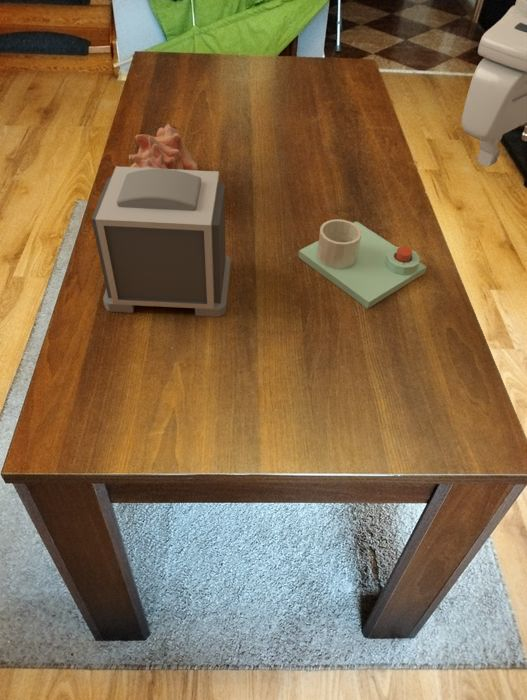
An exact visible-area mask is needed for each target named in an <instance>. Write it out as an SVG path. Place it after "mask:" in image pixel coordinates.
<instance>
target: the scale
mask: <svg viewBox="0 0 527 700" xmlns="http://www.w3.org/2000/svg"><path fill="white" fill-rule="evenodd" d="M353 223H354V224H355V225H357V226H358V227H359V228H360V230H361V240H360V245H359V250H358V255H357V259H356V262H355V263H354V264H353V265H352V266H350V267H348V268H344V269H334V268H330V267H327V266H325V265H323V264H322V263H321V262H320V261H319V260H318V258H317V247H318V240H317V241H315V242H313V243H311V244H309V245H307V246H305V247H303V248H300V249H299V250H298V255H297V256H298V257H297V258H299V259H300V260H301V261H302V262H304V263H305V264H307V265H308V266H309V267H311V268H312V270H313V269H314V270H315V271H316V272H317V273H319V274H320V275H321V276H323V277H324V278H326V279H327V280H328V281H329V282H331V283H332V284H333V285H335V286H336V287H337V288H338V289H340V290H342V291H343V292H344V293H346V294H347V295H348V296H350V297H351V298H352V299H354V300H355V301H356V302H358V303H359V304H361V306H363V307H365V308H366V309H370V308H372V306H374V305H376V304H377V303H379V302H381V301H382V300H384V299H386V298H387V297H389V296H390V295H392V294H394V293H395V292H397V291H398V290H400V289H402V288H404V287H405V286H408V284H410V283H411V282H413V281H414V280H416V279H418V278H419V277H422V276H423V275H425V274H426V271H427V268H428V266H426V265H425V264H423V263H422V262H420V260H421V257H420V256H419V254H418V252H416V251H415V250H413V249H411V250H412V255H411V259H410V261H409V262H408V263H403V262H399V261H397V260H396V258H395V257H396V253H397V249H398V248H399V247H400V246H396V245H394V244H392V243H391V242H390V241H388V240H386V239H385V238H383V237H382V236H380V235H379V234H378V233H376V232H374V231H372V230H371V229H369V228H367V227H366V226H365V225H363V224H362V223H360V222H358V221H354V222H353Z"/></svg>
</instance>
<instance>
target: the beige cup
mask: <svg viewBox="0 0 527 700" xmlns="http://www.w3.org/2000/svg"><path fill="white" fill-rule="evenodd" d="M360 240H361V230H360V228H359V227H358V226H357V225H355V224H354V222H352V221H349V220H346V219H339V218H337V219H330V220H327V221H325V222H323V223H322V225H320V227H319V233H318V240H317V241H318V247H317V258H318V260H319V261H320V262H321V263H322V264H323V265H325V266H327V267H330V268H334V269H344V268H348V267H350V266H352V265H353V264H354V263H355V262H356V259H357V255H358V250H359V245H360Z"/></svg>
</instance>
